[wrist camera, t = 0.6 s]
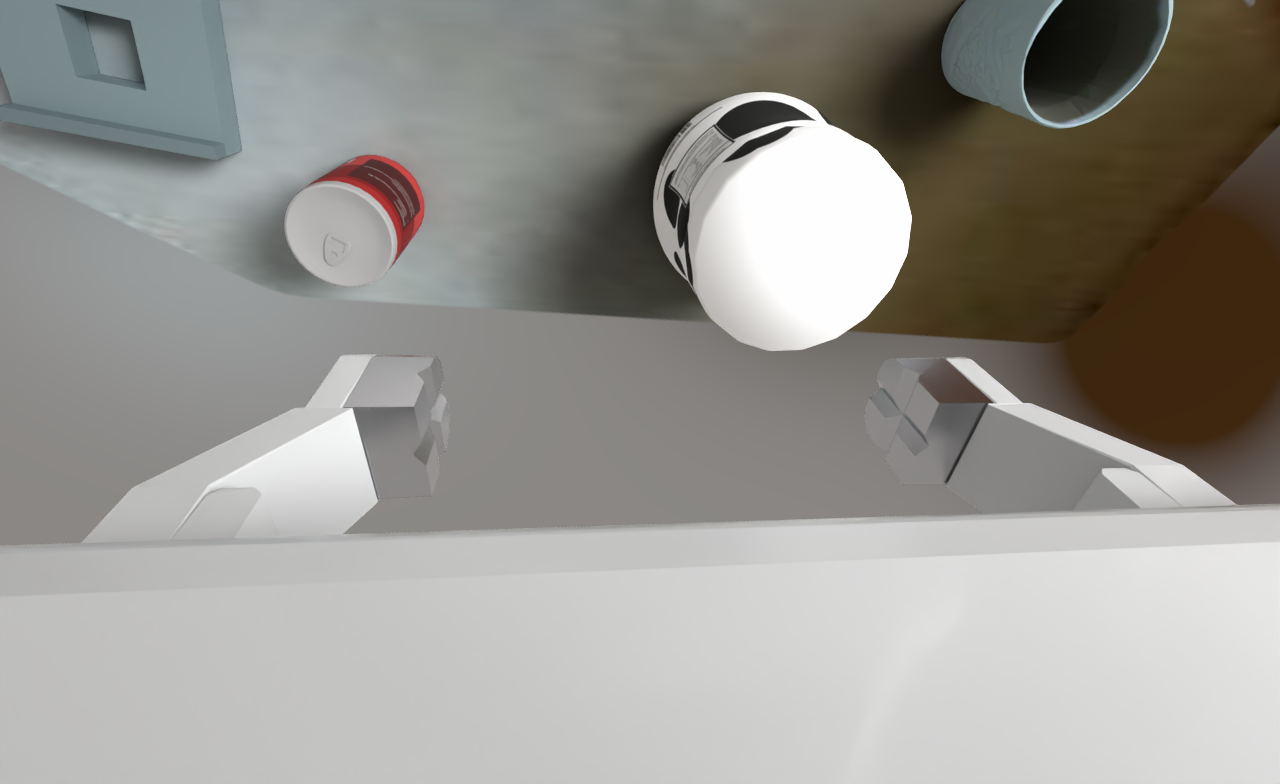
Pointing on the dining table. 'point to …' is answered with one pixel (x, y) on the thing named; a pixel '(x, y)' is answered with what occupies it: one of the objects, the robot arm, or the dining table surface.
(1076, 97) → the pale blue cup
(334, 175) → the canned food
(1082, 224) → the dining table surface
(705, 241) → the milk container
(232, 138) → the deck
